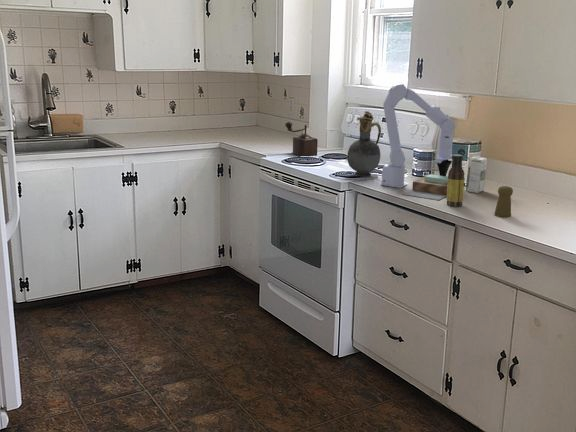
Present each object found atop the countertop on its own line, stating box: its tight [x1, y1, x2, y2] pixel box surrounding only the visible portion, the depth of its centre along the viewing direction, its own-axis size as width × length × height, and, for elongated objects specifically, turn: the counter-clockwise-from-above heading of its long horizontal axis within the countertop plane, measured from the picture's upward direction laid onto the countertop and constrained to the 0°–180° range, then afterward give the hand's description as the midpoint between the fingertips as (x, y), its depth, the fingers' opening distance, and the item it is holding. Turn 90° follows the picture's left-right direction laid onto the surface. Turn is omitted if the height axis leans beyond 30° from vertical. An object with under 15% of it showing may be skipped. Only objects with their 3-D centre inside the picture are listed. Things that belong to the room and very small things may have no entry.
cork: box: [493, 185, 514, 219], centre depth 235 cm, size 6×6×11 cm
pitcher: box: [346, 110, 382, 178], centre depth 299 cm, size 11×19×30 cm, turn 133°
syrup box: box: [465, 156, 488, 194], centre depth 272 cm, size 6×6×14 cm
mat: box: [401, 189, 447, 201], centre depth 265 cm, size 16×9×1 cm, turn 56°
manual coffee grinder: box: [285, 121, 318, 157], centre depth 349 cm, size 16×11×18 cm
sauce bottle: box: [446, 153, 465, 208], centre depth 247 cm, size 6×6×20 cm
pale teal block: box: [423, 173, 448, 184], centre depth 273 cm, size 9×6×2 cm, turn 56°
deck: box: [411, 176, 448, 197], centre depth 273 cm, size 15×12×4 cm
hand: (442, 177), depth 278 cm, fingers closed
